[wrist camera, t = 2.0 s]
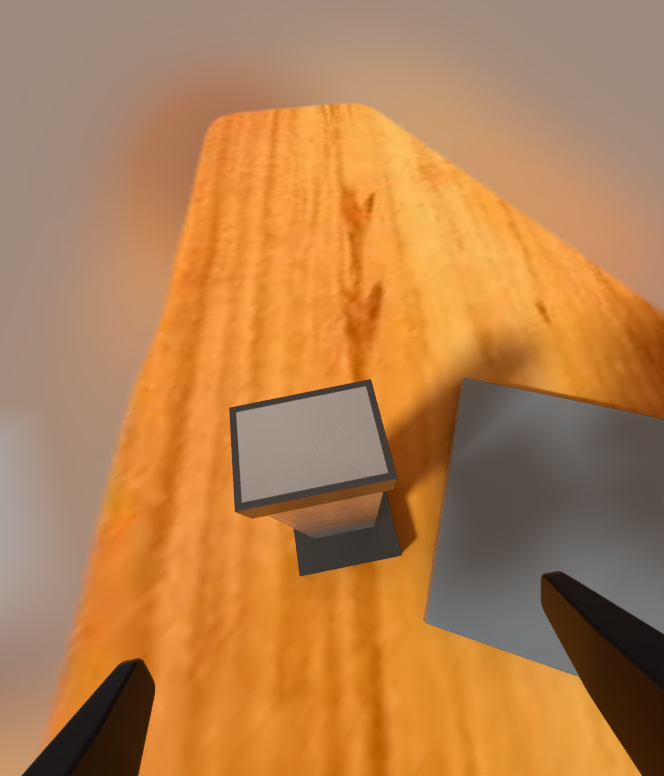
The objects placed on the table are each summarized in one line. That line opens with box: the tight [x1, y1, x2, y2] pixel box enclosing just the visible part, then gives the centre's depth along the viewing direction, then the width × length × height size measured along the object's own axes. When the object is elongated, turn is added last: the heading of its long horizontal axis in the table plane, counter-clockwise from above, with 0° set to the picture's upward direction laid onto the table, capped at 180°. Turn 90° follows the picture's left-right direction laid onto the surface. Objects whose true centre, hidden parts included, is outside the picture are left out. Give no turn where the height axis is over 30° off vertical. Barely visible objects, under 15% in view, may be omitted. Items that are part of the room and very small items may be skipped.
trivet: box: [423, 378, 664, 677], centre depth 18 cm, size 13×13×1 cm
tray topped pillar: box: [229, 379, 401, 576], centre depth 13 cm, size 5×5×13 cm
